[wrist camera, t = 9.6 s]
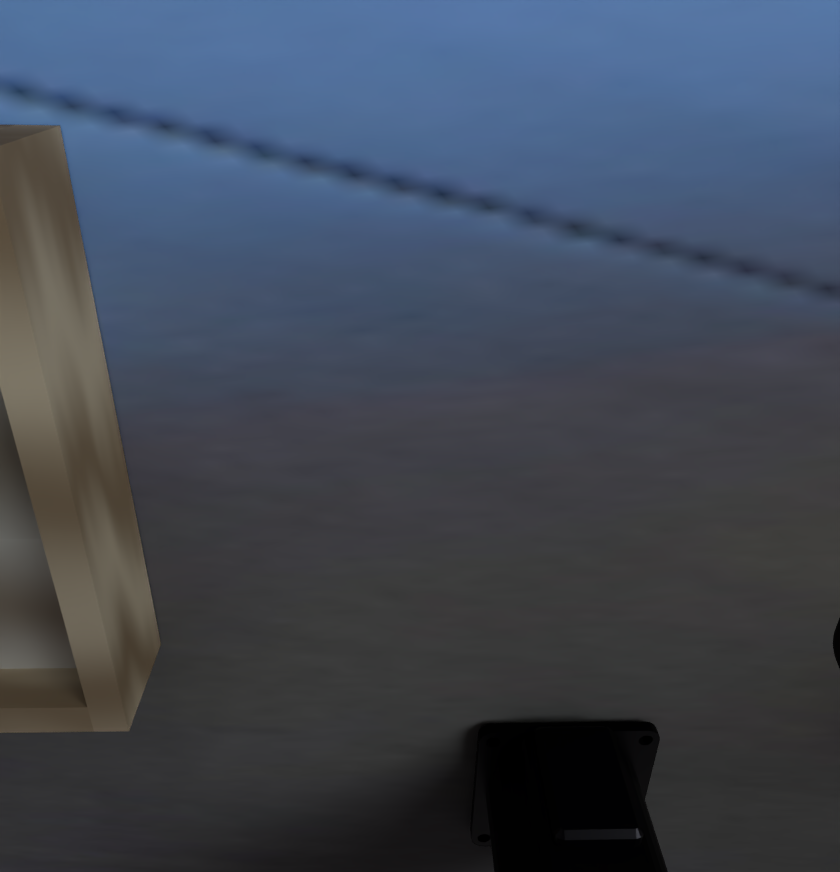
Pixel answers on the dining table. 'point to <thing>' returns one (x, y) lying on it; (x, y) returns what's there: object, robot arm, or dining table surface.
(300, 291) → the dining table surface
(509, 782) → the robot arm
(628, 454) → the dining table surface
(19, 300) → the tray
